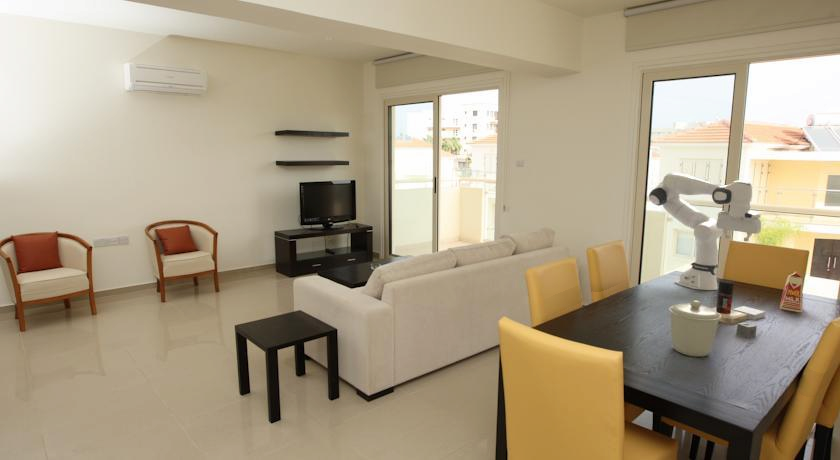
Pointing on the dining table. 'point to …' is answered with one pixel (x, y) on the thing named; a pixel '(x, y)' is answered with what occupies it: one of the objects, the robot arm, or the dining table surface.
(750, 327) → the dice cube
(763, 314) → the grey stand
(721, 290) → the deodorant
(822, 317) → the dining table surface
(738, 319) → the oak stand
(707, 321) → the canister
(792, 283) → the milk carton
